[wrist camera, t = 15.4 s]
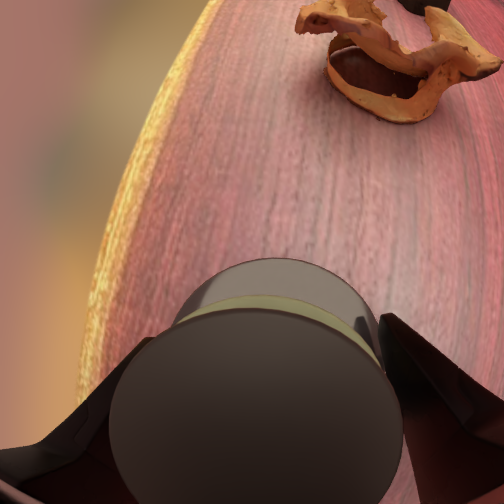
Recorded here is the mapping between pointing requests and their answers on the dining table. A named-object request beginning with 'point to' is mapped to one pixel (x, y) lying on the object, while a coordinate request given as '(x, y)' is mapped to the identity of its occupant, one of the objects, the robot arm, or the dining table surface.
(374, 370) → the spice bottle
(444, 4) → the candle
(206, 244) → the dining table surface
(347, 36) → the bone
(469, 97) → the dining table surface
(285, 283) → the trivet
